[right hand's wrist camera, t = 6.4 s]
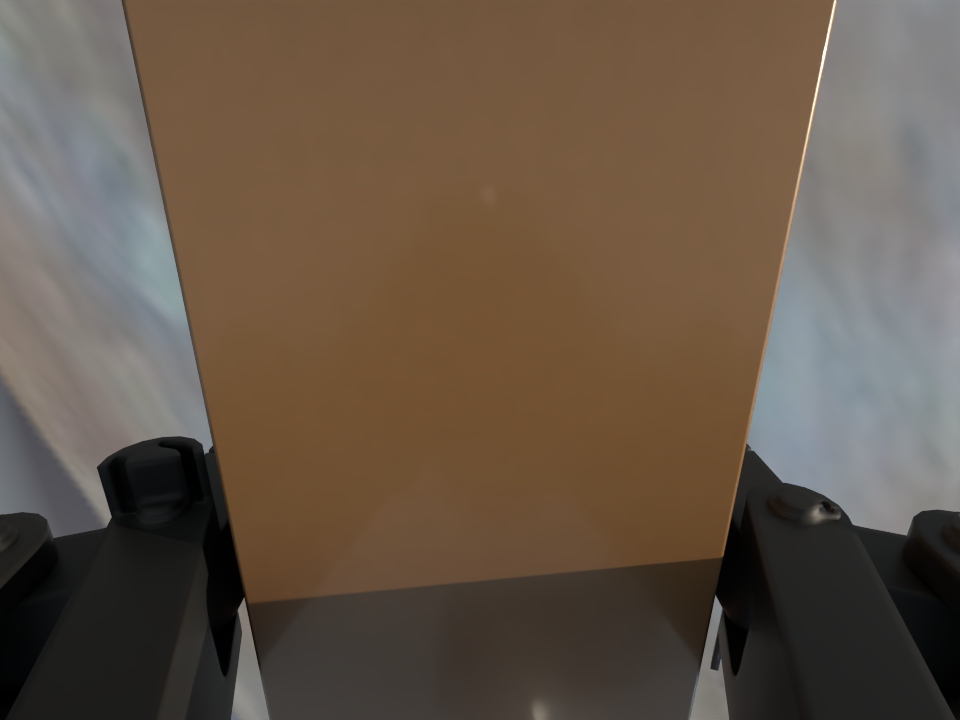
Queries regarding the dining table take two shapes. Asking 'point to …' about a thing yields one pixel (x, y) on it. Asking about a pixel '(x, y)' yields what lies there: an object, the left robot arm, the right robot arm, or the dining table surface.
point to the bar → (479, 328)
